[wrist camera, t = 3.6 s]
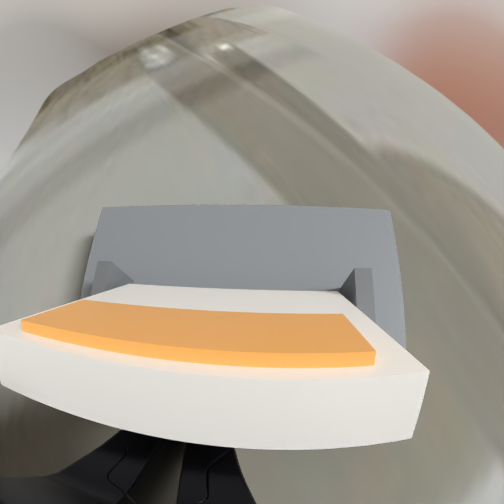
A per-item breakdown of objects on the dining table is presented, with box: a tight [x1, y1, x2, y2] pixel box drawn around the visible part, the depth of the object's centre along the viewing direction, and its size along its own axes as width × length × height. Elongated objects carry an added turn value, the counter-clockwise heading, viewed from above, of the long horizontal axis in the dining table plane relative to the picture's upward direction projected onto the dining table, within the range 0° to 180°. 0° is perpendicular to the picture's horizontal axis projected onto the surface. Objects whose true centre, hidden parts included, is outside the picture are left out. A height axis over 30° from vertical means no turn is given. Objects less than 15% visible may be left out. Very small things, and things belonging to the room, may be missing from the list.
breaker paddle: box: [0, 284, 430, 450], centre depth 9 cm, size 2×10×9 cm, turn 87°
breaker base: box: [80, 205, 406, 350], centre depth 15 cm, size 12×18×6 cm, turn 87°
